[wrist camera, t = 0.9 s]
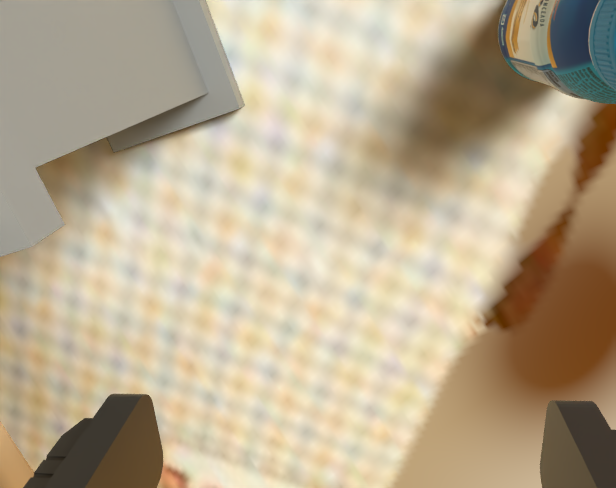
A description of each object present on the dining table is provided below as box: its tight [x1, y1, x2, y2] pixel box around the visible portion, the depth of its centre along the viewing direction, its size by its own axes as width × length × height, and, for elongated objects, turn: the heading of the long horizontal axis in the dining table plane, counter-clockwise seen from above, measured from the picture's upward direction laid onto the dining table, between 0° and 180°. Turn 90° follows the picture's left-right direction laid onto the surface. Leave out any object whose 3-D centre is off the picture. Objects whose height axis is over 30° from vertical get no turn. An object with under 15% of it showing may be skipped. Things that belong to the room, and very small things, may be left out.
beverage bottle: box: [498, 0, 616, 104], centre depth 33 cm, size 8×8×20 cm
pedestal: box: [0, 0, 245, 257], centre depth 31 cm, size 12×12×32 cm
